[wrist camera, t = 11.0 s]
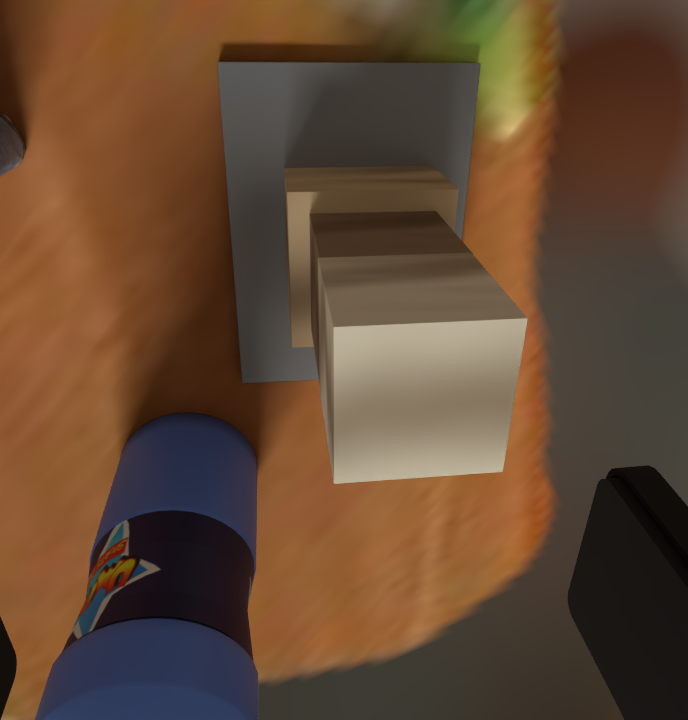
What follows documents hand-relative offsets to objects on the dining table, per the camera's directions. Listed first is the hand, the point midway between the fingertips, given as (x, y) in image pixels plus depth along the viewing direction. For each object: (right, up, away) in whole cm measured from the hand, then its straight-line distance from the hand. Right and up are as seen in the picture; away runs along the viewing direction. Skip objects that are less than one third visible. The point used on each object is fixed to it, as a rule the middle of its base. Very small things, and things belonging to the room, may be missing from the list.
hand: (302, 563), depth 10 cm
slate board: (+1, +10, +26) cm, 28 cm away
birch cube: (+3, +5, +16) cm, 17 cm away
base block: (+1, +10, +26) cm, 27 cm away
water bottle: (-10, -4, +33) cm, 35 cm away
